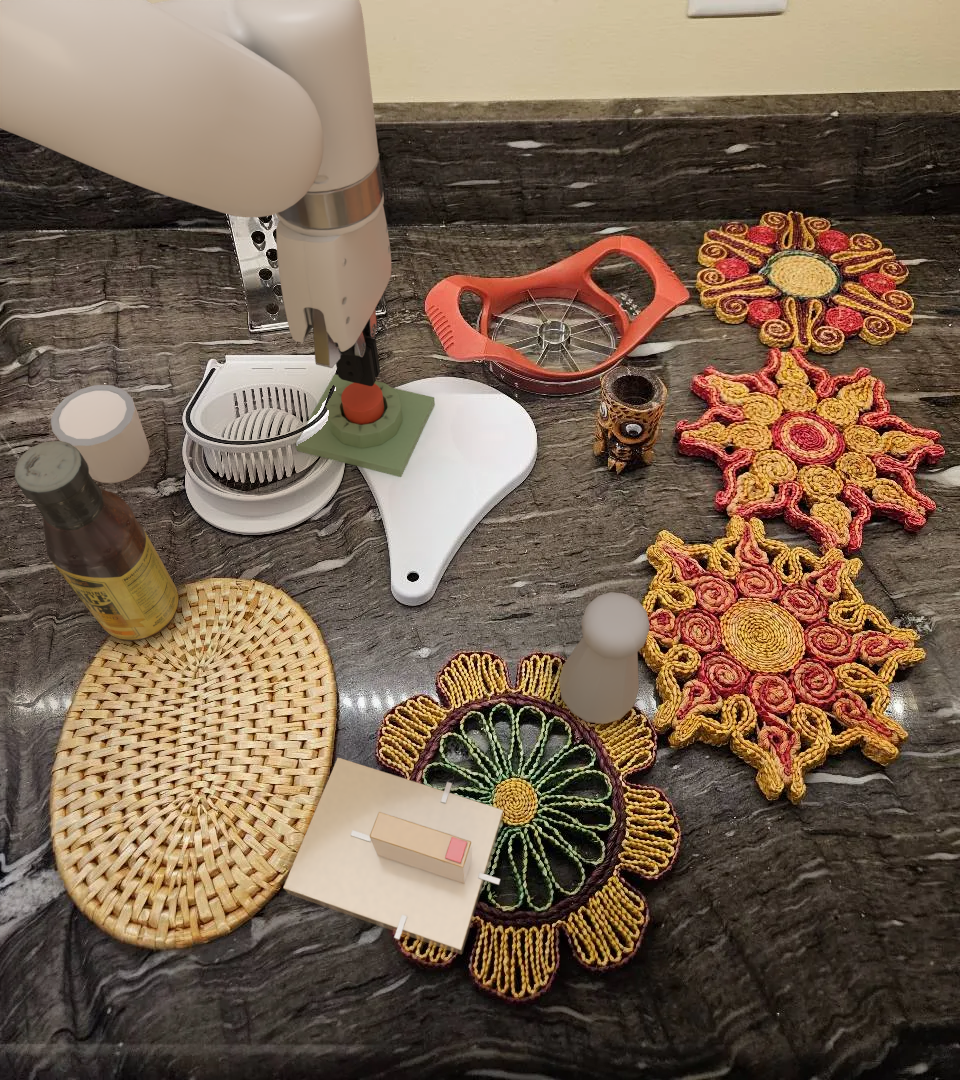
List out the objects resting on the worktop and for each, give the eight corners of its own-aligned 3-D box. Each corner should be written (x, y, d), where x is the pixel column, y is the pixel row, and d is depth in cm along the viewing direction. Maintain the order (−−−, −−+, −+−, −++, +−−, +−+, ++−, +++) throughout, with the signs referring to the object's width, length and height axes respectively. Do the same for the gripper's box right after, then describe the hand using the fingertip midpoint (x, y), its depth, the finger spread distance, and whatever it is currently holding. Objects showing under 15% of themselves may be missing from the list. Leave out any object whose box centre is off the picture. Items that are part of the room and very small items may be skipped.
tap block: (287, 906, 57) (278, 896, 54) (346, 763, 62) (340, 748, 60) (475, 973, 55) (475, 966, 52) (520, 818, 60) (521, 805, 57)
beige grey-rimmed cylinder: (85, 442, 79) (53, 389, 73) (161, 432, 80) (135, 378, 74) (79, 501, 75) (46, 450, 70) (159, 490, 76) (132, 438, 70)
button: (337, 419, 76) (334, 405, 74) (353, 390, 78) (350, 377, 76) (375, 428, 75) (373, 415, 74) (390, 399, 77) (388, 386, 76)
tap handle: (376, 855, 56) (368, 835, 52) (385, 831, 57) (378, 810, 53) (464, 884, 55) (463, 866, 51) (472, 859, 56) (471, 840, 52)
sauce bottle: (91, 615, 69) (-33, 459, 53) (157, 568, 72) (59, 405, 55) (136, 667, 67) (21, 521, 50) (202, 617, 69) (114, 461, 52)
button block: (299, 459, 78) (290, 430, 75) (337, 389, 83) (331, 359, 79) (402, 485, 76) (398, 457, 73) (435, 413, 81) (433, 383, 78)
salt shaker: (553, 728, 64) (567, 650, 53) (559, 659, 67) (574, 572, 56) (632, 738, 63) (663, 662, 52) (635, 668, 66) (664, 582, 56)
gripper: (319, 114, 62) (352, 310, 78) (225, 241, 55) (282, 430, 70) (416, 131, 61) (430, 327, 76) (334, 264, 53) (368, 451, 69)
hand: (359, 376), depth 73 cm, fingers closed
